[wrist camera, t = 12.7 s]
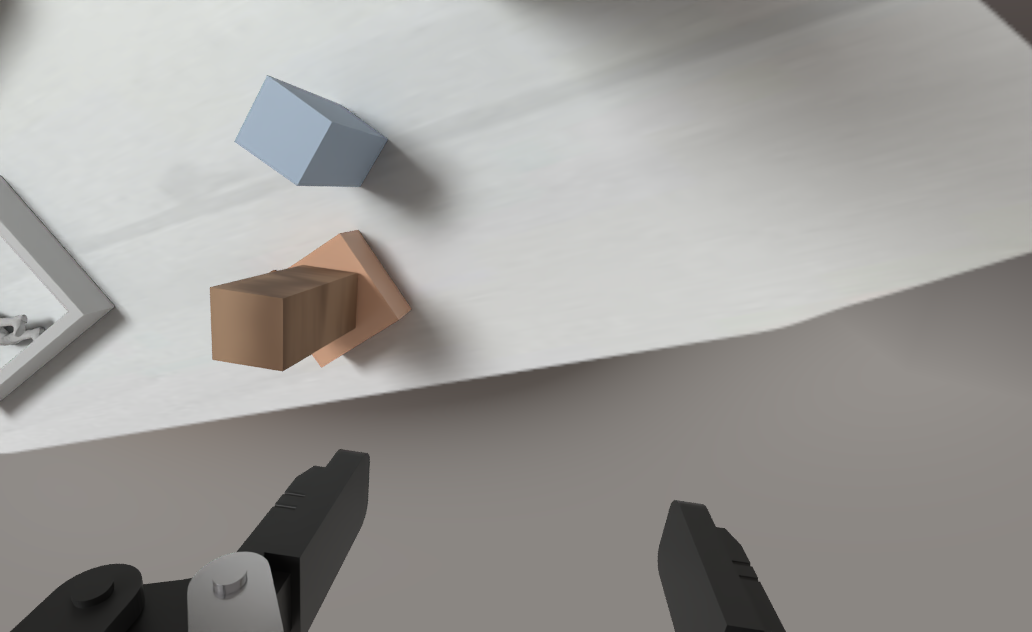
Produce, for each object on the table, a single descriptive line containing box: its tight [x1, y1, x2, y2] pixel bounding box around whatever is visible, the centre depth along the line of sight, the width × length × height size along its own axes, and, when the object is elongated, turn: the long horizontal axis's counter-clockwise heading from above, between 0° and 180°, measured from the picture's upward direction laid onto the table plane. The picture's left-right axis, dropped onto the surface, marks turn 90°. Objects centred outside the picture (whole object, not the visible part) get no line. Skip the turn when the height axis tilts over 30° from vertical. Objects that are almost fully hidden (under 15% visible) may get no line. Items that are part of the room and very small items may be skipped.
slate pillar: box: [234, 75, 388, 187], centre depth 34 cm, size 4×4×10 cm
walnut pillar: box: [210, 265, 358, 371], centre depth 33 cm, size 4×4×10 cm
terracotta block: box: [289, 230, 411, 368], centre depth 40 cm, size 8×8×4 cm
